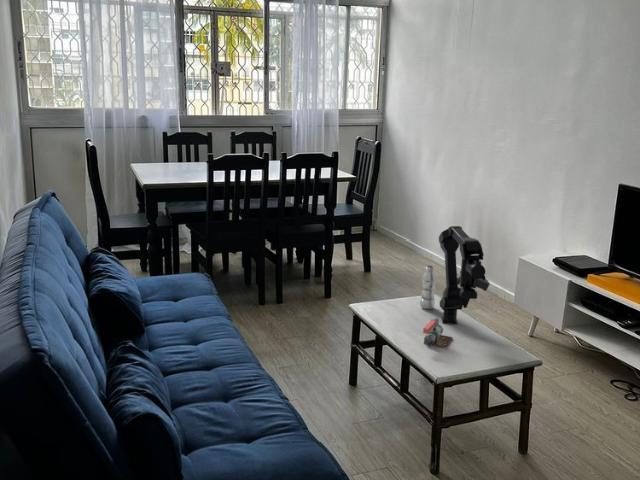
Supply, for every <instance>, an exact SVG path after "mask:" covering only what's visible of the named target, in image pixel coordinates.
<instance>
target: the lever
mask: <svg viewBox="0 0 640 480" xmlns="http://www.w3.org/2000/svg"><path fill="white" fill-rule="evenodd" d="M439 323H440V318H439V317H437V316H433V317H432V316H431V318H430V321H429V322H428V323H427V324H426V325H425V326H424V327H423V329H422V334H426V335H427V334H428V333H429V332H430V331H431V330H432V329H433V328H434V327H435V326H438V325H440V324H439Z"/></svg>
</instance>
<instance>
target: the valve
mask: <svg viewBox="0 0 640 480" xmlns="http://www.w3.org/2000/svg"><path fill="white" fill-rule="evenodd" d="M443 332H444V328H443V327H442V325H440V324H439V325H438V326H435V327H434V328H433V329H432V330H431V331H430V332H429V333H428V334H426V335H425V336H424V338H423V344H424V345H426V346H427V345H428V346H432V347H437V348H443V349H447V347H448V346H449V345H450V343H451V342H452V340H453V336H449V335H443Z"/></svg>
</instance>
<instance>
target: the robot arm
mask: <svg viewBox="0 0 640 480" xmlns="http://www.w3.org/2000/svg"><path fill="white" fill-rule="evenodd" d="M438 242H439V244H440V245H439V246H440V249H441V250H442V252H443V253H444V264H445V265H444V266H445V283H446V284H445V285H446V287H445V289H444V290H443V292H442V297H441V299H440V301H439V308H441V310H442V311H443V314H442V315H443V316H441V322H442V324H444V325H445V324H448V325H458V324H459V322H458V318H457V317H458V310H460V311H461V310H463V308H464V309H467V307H468V304H469V303H470V300H471V299H472V300H476V299H478V292H477V290H476V289H477V288H479V289H481V290H483V291H487V290H488V288H489V286H490V285H491V284H490V282H489V280H488V279H486V268H485V267H484V266H483V265H482V261H484V255H485V253H484V251H483V247H482V244H481V242H480V241H479V240H478V239H476V238H475V237H474V238H472V237H470V236H469V235H468V234H467V233H466V232H465V231H464V230H463V228H462V226H460V225H455V226H454V225H452V226H449V227H448V228H447V229H445V230H443V231H441V233H440V234H439V236H438ZM458 249H459V252H460V256H461V266H460V271H459V276H458V271H457V268H458V267H457V250H458Z"/></svg>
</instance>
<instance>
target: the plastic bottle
mask: <svg viewBox="0 0 640 480" xmlns="http://www.w3.org/2000/svg"><path fill="white" fill-rule="evenodd" d="M421 278H422V279H421V282H422V292H421V298H420V303H419V304H420V305H419V306H420V307H421V309H426V310H432V309H433V308H434V307H435V304H436V302H435V289H436V283H437V275H436V273H435V266H434V265H429V264H428V265H426V266H425V272H424V273H423V275H422V277H421Z"/></svg>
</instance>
